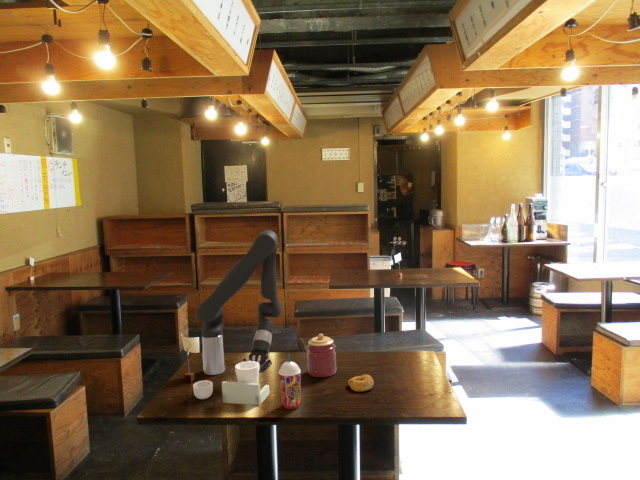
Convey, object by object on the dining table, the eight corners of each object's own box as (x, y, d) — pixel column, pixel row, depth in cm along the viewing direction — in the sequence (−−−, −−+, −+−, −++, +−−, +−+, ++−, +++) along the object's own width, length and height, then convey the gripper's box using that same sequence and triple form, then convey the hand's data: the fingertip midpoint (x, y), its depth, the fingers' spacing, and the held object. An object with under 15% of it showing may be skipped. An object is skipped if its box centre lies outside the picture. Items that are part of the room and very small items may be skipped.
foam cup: (264, 392, 197) (262, 361, 196) (256, 402, 188) (254, 370, 187) (242, 391, 200) (240, 360, 198) (233, 401, 191) (231, 368, 190)
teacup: (212, 400, 193) (211, 387, 192) (192, 401, 192) (191, 388, 191) (215, 390, 203) (214, 377, 202) (196, 391, 202) (195, 379, 201)
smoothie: (299, 411, 179) (296, 358, 177) (277, 410, 181) (274, 358, 179) (304, 401, 187) (302, 351, 185) (283, 401, 189) (281, 350, 187)
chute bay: (234, 391, 200) (233, 372, 200) (269, 393, 197) (268, 374, 196) (223, 402, 190) (221, 382, 189) (259, 405, 186) (258, 385, 185)
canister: (337, 377, 210) (335, 337, 209) (307, 378, 211) (305, 338, 209) (336, 366, 223) (334, 329, 222) (308, 367, 224) (306, 330, 222)
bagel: (357, 380, 207) (357, 369, 206) (378, 387, 199) (378, 375, 198) (342, 388, 199) (342, 376, 199) (363, 395, 192) (363, 383, 191)
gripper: (244, 338, 208) (234, 377, 198) (273, 339, 205) (265, 378, 194) (250, 346, 214) (240, 384, 203) (278, 347, 211) (270, 386, 200)
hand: (252, 381), depth 199 cm, fingers closed
